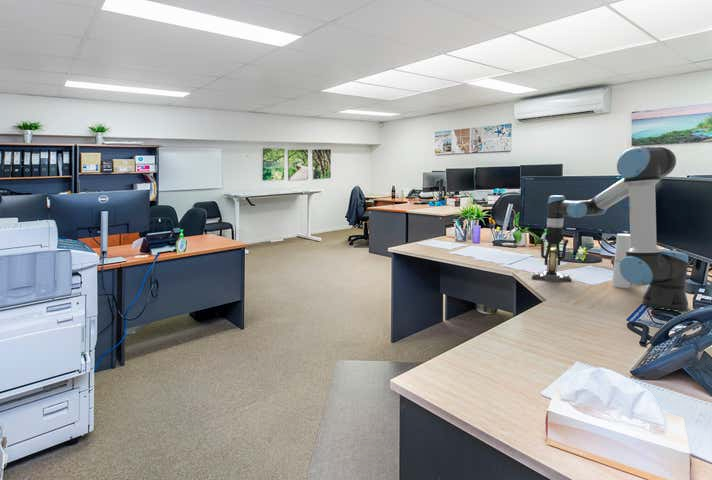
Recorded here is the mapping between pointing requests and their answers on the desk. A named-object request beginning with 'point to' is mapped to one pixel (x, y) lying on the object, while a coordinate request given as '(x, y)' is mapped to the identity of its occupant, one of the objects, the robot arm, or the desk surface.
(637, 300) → the desk surface
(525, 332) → the desk surface
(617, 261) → the cylindrical container
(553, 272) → the link pin
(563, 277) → the chain ends
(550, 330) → the desk surface
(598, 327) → the desk surface
